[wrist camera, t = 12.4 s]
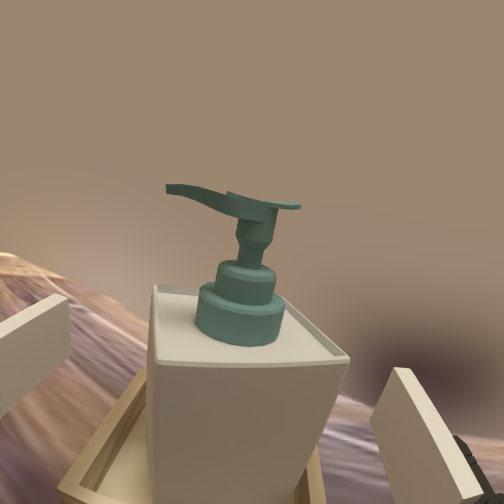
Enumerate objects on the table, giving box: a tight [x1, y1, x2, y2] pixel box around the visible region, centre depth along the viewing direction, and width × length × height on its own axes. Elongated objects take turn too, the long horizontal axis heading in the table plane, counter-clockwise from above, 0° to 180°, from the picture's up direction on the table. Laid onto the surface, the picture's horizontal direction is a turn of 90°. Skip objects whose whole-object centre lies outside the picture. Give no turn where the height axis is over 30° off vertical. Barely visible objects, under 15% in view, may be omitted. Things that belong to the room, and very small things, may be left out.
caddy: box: [56, 368, 326, 504], centre depth 18 cm, size 15×15×4 cm
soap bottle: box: [146, 184, 350, 504], centre depth 16 cm, size 9×9×19 cm
